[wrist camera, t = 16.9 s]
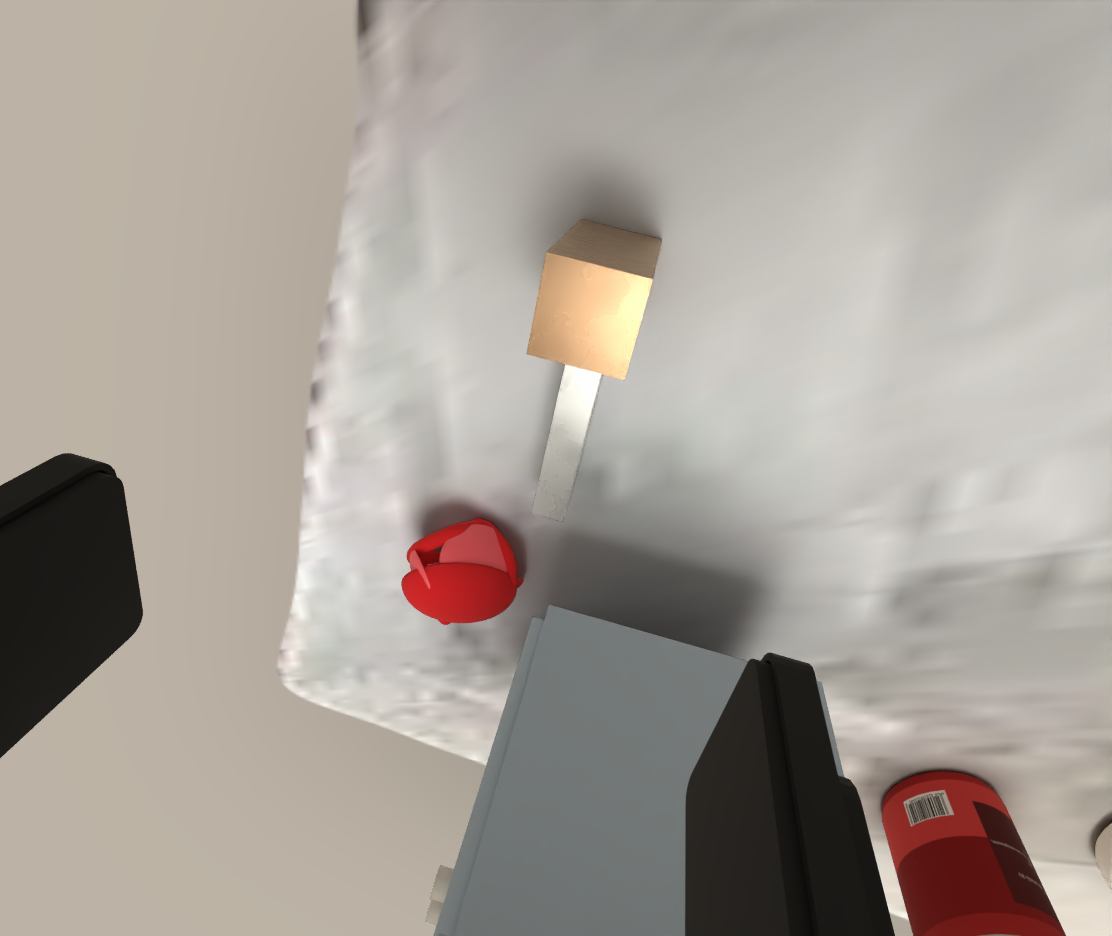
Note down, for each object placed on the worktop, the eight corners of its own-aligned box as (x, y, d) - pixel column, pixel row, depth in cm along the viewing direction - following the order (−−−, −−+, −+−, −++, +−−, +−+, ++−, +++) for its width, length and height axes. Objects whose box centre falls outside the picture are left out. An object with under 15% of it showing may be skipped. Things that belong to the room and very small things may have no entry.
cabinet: (552, 506, 39) (385, 986, 18) (809, 578, 39) (967, 1175, 17) (511, 675, 47) (357, 1159, 25) (725, 737, 46) (759, 1296, 24)
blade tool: (581, 219, 31) (546, 251, 24) (662, 239, 31) (653, 279, 23) (525, 477, 39) (484, 567, 31) (590, 495, 39) (565, 590, 31)
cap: (370, 566, 40) (407, 657, 39) (407, 531, 36) (449, 633, 35) (474, 532, 45) (509, 611, 44) (517, 499, 41) (557, 586, 40)
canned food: (860, 823, 48) (904, 998, 38) (908, 754, 44) (969, 931, 34) (966, 851, 47) (1037, 1037, 38) (1023, 784, 43) (1119, 973, 34)
